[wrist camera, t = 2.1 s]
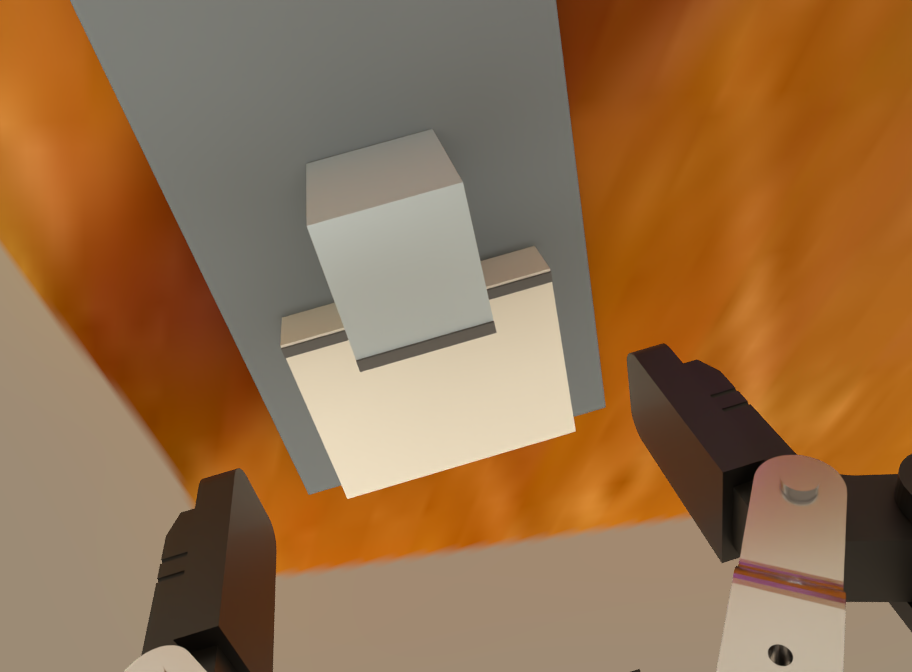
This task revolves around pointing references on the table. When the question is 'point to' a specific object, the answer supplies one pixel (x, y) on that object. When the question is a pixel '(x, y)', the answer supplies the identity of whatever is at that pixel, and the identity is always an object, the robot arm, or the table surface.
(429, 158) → the stub
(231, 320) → the pad
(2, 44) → the table surface
